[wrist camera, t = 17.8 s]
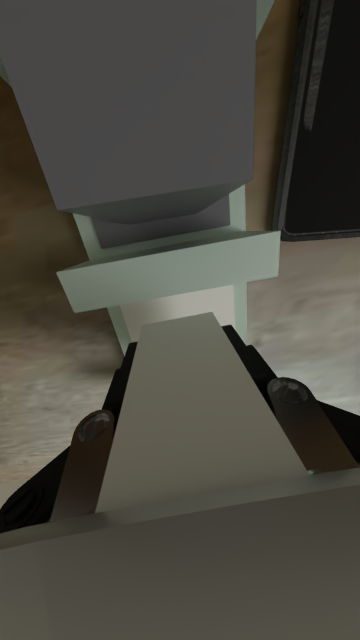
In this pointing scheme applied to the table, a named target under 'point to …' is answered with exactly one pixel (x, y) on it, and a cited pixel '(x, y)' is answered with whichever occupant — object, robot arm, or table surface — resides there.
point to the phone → (322, 127)
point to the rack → (172, 262)
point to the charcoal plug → (135, 101)
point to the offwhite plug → (191, 420)
